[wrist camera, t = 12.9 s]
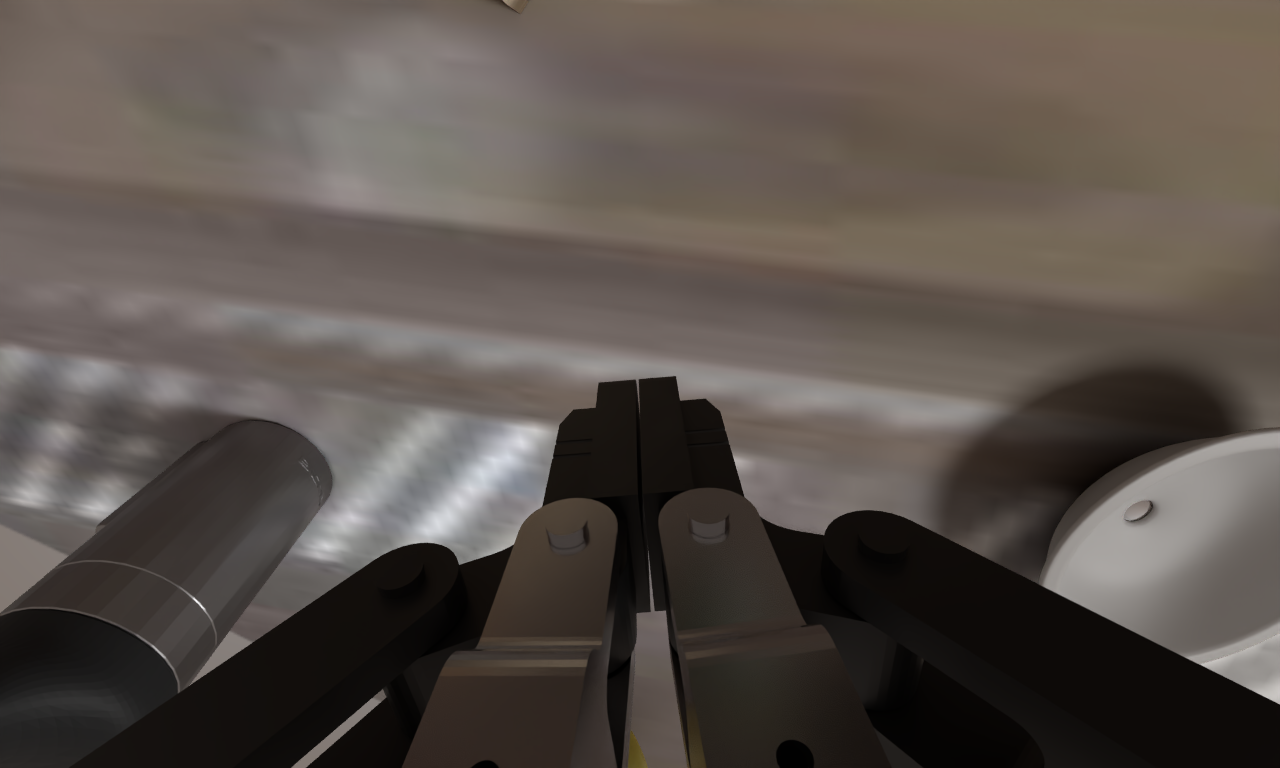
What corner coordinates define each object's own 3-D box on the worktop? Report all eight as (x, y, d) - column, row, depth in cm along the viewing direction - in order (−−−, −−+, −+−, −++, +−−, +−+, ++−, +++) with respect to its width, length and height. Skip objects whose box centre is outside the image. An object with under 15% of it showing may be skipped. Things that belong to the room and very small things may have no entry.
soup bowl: (1019, 640, 55) (1065, 706, 49) (960, 463, 45) (1010, 518, 39) (1294, 550, 50) (1382, 611, 44) (1296, 329, 40) (1410, 369, 34)
